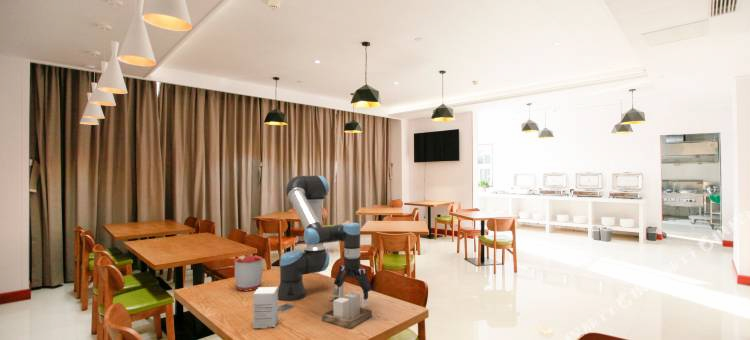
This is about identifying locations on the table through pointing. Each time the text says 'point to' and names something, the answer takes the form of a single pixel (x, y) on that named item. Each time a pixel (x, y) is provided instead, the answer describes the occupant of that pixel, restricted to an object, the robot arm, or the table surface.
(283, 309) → the trowel
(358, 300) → the white upright block piece
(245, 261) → the grey bucket
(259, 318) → the supplement box
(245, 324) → the table surface
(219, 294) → the table surface
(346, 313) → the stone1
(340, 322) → the brown wooden tray
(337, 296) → the architectural model
